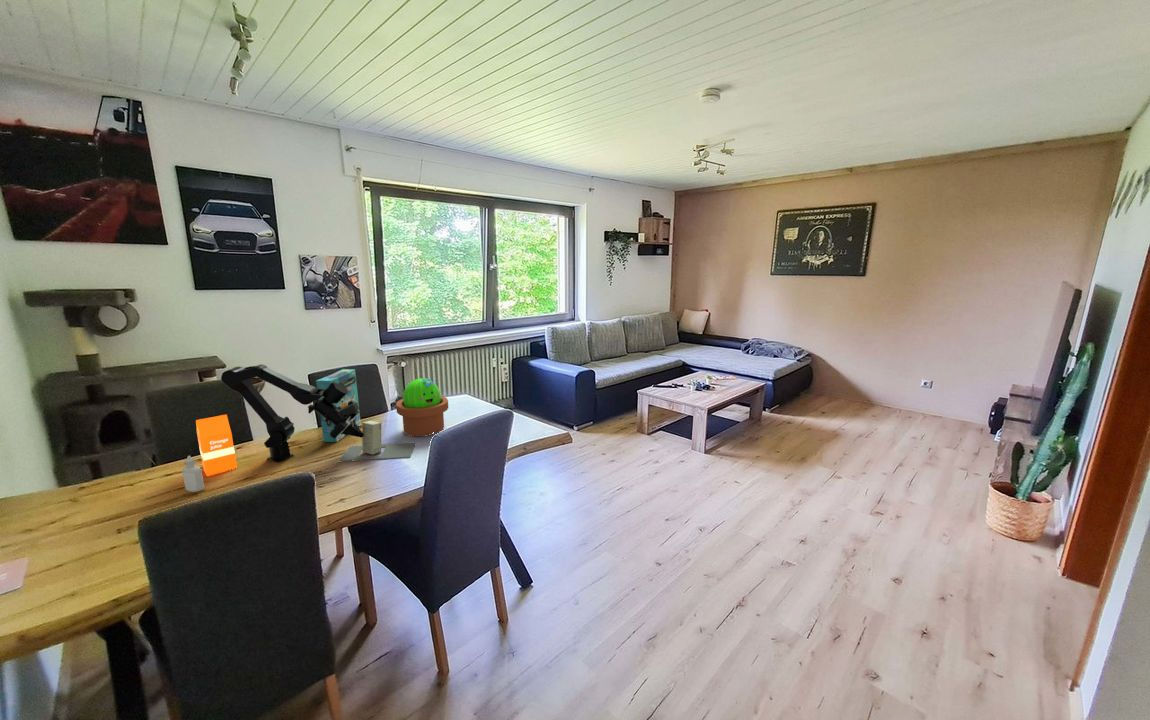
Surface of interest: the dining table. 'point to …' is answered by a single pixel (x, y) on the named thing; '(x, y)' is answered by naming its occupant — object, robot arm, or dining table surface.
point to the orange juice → (216, 444)
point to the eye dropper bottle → (192, 476)
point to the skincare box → (371, 437)
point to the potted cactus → (422, 408)
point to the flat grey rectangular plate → (389, 453)
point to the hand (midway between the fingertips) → (362, 436)
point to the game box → (349, 381)
